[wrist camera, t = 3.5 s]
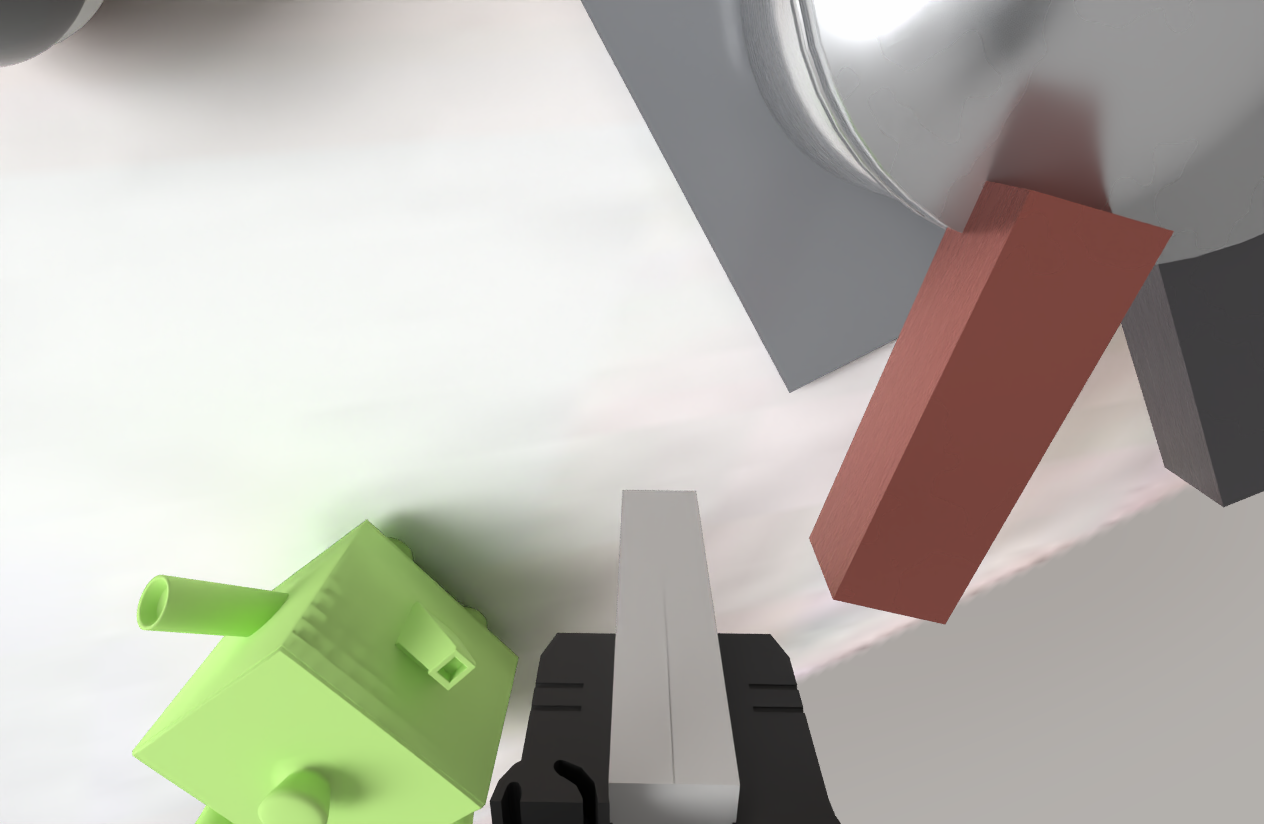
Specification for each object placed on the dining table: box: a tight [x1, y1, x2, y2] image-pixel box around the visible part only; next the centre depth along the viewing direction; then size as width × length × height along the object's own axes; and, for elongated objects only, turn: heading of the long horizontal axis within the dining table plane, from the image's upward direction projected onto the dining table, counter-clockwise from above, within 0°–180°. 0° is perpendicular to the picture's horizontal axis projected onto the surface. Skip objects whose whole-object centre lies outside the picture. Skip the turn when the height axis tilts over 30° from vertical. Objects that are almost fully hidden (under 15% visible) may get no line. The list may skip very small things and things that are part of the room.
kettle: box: [132, 520, 519, 824], centre depth 30 cm, size 15×14×11 cm
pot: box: [741, 0, 1264, 507], centre depth 19 cm, size 23×15×10 cm, turn 30°
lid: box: [798, 0, 1264, 624], centre depth 13 cm, size 23×15×3 cm, turn 165°
